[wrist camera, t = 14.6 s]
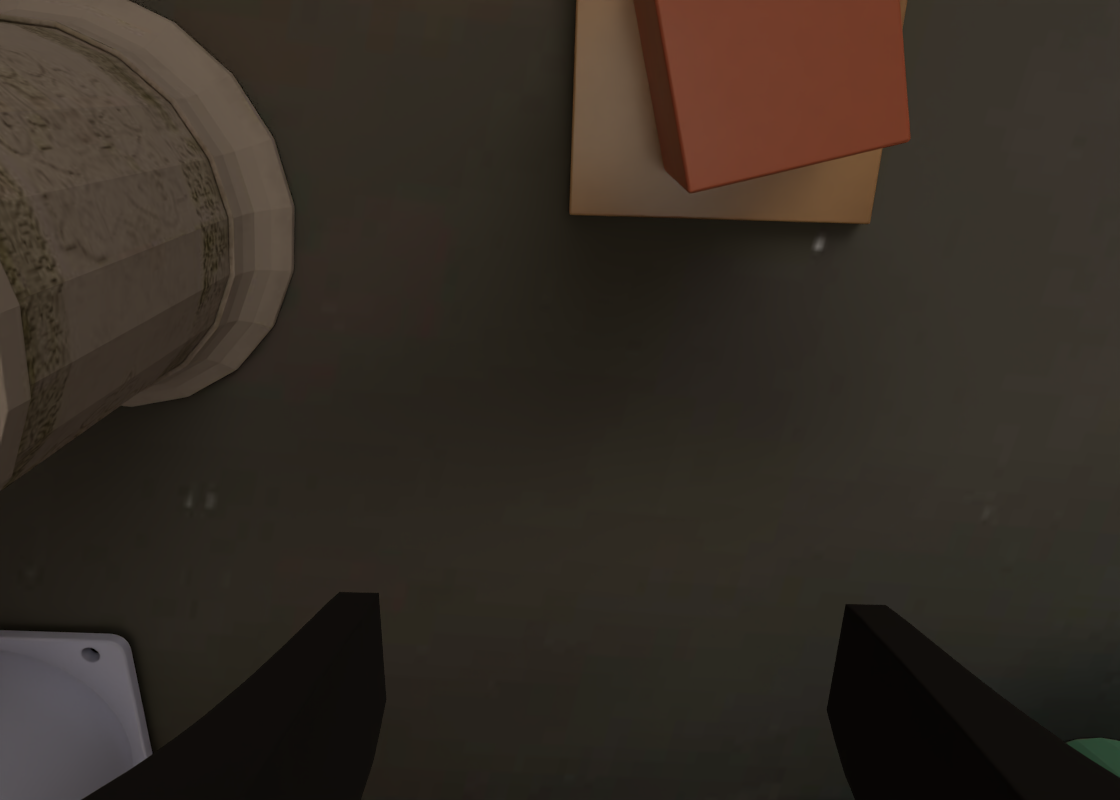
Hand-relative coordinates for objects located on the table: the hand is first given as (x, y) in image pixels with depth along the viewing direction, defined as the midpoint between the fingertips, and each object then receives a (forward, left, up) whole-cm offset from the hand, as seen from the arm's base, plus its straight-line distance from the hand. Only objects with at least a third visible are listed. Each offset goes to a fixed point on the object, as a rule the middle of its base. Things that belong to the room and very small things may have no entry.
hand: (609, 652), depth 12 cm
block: (+3, +9, -9) cm, 13 cm away
